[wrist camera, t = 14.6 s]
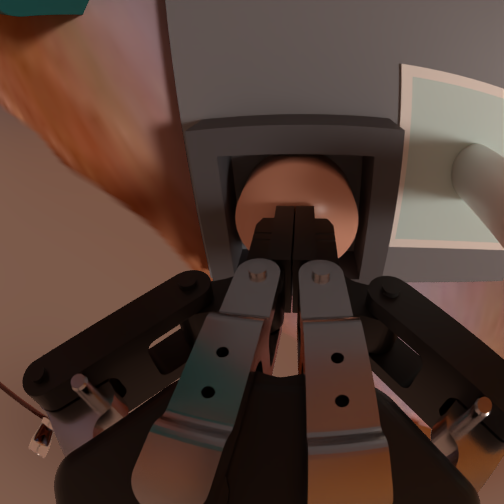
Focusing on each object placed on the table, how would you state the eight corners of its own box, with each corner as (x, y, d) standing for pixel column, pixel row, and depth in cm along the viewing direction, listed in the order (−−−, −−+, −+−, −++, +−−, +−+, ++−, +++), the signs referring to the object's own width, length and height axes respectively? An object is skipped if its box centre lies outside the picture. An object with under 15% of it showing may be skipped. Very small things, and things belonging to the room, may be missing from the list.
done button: (238, 150, 13) (228, 165, 11) (355, 150, 12) (363, 166, 10) (248, 245, 15) (241, 270, 14) (347, 246, 15) (351, 272, 13)
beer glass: (39, 413, 73) (24, 446, 61) (47, 417, 70) (32, 451, 58) (53, 423, 76) (39, 455, 64) (62, 427, 74) (48, 460, 62)
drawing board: (166, -75, 6) (137, -95, 4) (531, -28, 3) (563, -31, 1) (214, 269, 18) (200, 304, 16) (498, 272, 15) (515, 304, 13)
